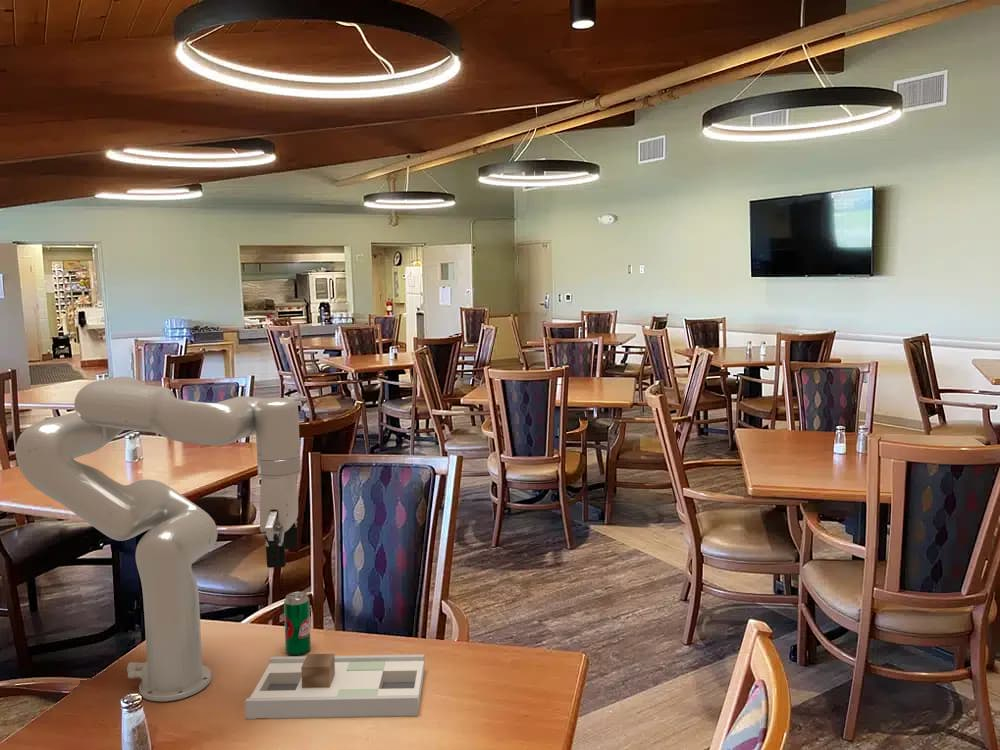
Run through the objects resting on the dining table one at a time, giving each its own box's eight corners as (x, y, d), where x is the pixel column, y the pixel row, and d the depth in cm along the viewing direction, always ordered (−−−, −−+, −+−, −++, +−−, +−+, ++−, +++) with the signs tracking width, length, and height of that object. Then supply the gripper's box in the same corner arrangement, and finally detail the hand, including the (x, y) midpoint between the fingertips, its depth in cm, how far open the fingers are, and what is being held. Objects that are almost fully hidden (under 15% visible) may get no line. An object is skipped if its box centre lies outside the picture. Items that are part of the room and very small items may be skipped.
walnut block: (302, 688, 135) (301, 667, 135) (308, 674, 140) (307, 654, 140) (329, 687, 135) (328, 666, 135) (334, 673, 140) (334, 653, 140)
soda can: (304, 657, 152) (302, 601, 150) (281, 655, 153) (279, 599, 151) (314, 646, 157) (313, 591, 155) (292, 644, 158) (291, 590, 156)
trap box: (246, 718, 130) (245, 701, 129) (271, 672, 146) (271, 656, 145) (417, 715, 130) (417, 698, 130) (424, 670, 146) (424, 654, 146)
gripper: (270, 456, 143) (274, 542, 145) (244, 478, 126) (248, 575, 128) (310, 455, 143) (313, 541, 145) (288, 477, 126) (292, 574, 128)
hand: (283, 557), depth 136 cm, fingers open, 9 cm apart
